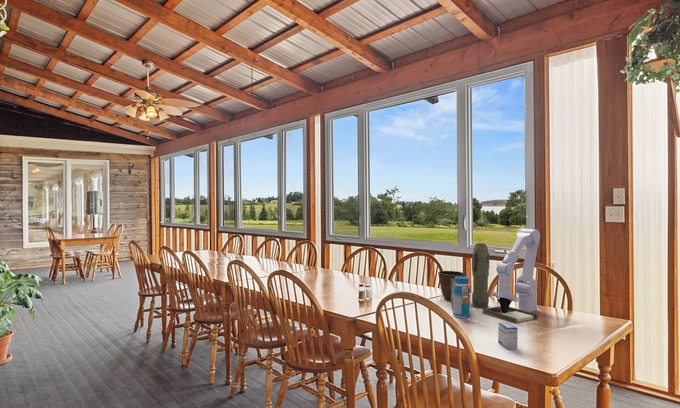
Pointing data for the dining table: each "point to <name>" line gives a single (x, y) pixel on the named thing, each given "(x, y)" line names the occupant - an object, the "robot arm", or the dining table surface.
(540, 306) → the dining table surface
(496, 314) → the case
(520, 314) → the cover plate
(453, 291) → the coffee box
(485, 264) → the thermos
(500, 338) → the medicine box
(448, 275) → the plant pot
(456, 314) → the beverage bottle
